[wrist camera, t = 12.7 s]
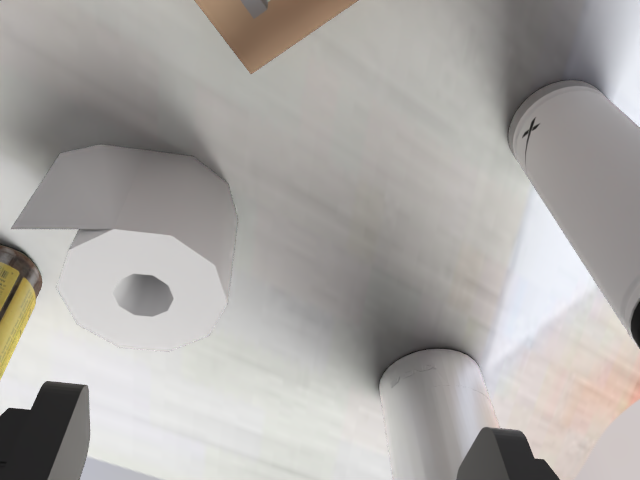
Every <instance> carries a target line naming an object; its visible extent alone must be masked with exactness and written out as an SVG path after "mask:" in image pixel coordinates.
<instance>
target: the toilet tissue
mask: <svg viewBox="0 0 640 480" xmlns="http://www.w3.org/2000/svg"><path fill="white" fill-rule="evenodd" d="M237 225H238V216H237V213H236V209H235V206H234V202H233V199H232V195H231V191H230V188H229V184H228V183H227V182H226V181H224V180H223V179H222V178H221V177H219V176H218V175H217V174H215V173H214V172H213V171H212V170H210V169H209V168H208V167H206V166H205V165H204V164H203V163H201V162H200V161H199V160H198V159H196V158H195V157H194V156H188V155H180V154H173V153H165V152H157V151H150V150H142V149H134V148H127V147H119V146H111V145H104V144H99V145H94V146H90V147H85V148H81V149H76V150H72V151H67V152H63V153H60V154H59V156H58V157H57V159H56V160H55V162H54V163H53V165H52V166H51V168H50V169H49V171H48V172H47V174H46V176H45V177H44V179H43V180H42V182H41V183H40V185H39V186H38V188H37V189H36V191H35V192H34V194H33V195H32V197H31V198H30V200H29V202H28V203H27V205H26V206H25V208H24V209H23V211H22V212H21V214H20V215H19V217H18V218H17V220H16V221H15V223H14V224H13V226H12V227H11V229H79V230H78V232H77V234H76V236H75V238H74V240H73V242H72V244H71V246H70V248H69V250H68V253H67V256H66V259H65V262H64V265H63V268H62V271H61V274H60V277H59V280H58V283H57V286H56V289H57V290H58V292H59V294H60V296H61V297H62V299H63V301H64V303H65V305H66V306H67V308H68V310H69V312H70V313H71V315H72V317H73V319H74V320H75V322H76V324H77V325H79V326H81V327H83V328H84V329H86V330H88V331H90V332H92V333H93V334H95V335H97V336H99V337H101V338H103V339H104V340H106V341H108V342H110V343H112V344H114V345H115V346H117V347H119V348H128V349H140V350H152V351H164V352H170V351H172V350H175V349H177V348H180V347H182V346H185V345H187V344H190V343H193V342H195V341H198V340H200V339H203V338H205V337H208V336H209V335H210V334H211V332H212V330H213V329H214V327H215V325H216V323H217V322H218V320H219V318H220V317H221V315H222V313H223V311H224V310H225V308H226V306H227V305H228V299H229V290H230V282H231V274H232V266H233V258H234V250H235V242H236V233H237Z"/></svg>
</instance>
